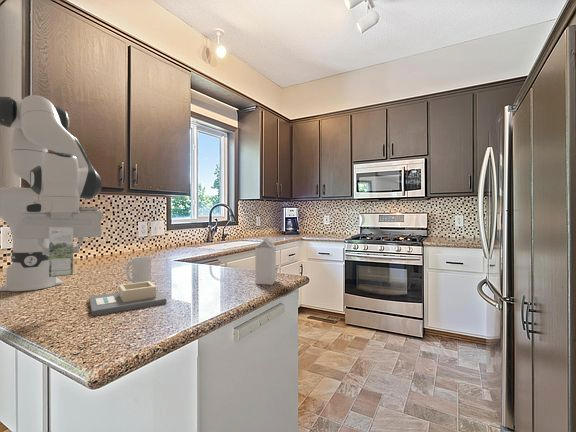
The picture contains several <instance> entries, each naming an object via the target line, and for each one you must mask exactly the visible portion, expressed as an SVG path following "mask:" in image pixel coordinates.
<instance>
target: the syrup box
mask: <svg viewBox="0 0 576 432" xmlns="http://www.w3.org/2000/svg"><path fill="white" fill-rule="evenodd" d="M73 247H74V238H73V227H49V277H57V278H59V277H66V276H67V277H68V276H69V277H70V276H73V275H74V253H73Z"/></svg>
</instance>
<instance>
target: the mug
mask: <svg viewBox="0 0 576 432" xmlns="http://www.w3.org/2000/svg"><path fill="white" fill-rule="evenodd" d="M130 266H131V273H130ZM125 272H126V273H125V274H126V277H127V280H128V282H131V283H138V282H146V281H150V282H152V256H137V257H135V256H134V257H132V258H131V260H130V259H129V260H128V261H127V264H126V266H125Z"/></svg>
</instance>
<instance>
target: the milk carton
mask: <svg viewBox="0 0 576 432" xmlns="http://www.w3.org/2000/svg"><path fill="white" fill-rule="evenodd" d="M262 240H263V241H261V243H259V244H258V245H257V246H256V247H255V250H254V252H255V253H254V254H255V257H254V258H255V261H254V262H255V269H254V271H255V272H254V273H255V283H254V284H255V285H267V286H268V285H271V286H273V284H274V283H275V282H276V279H277V276H276V275H277V274H276V273H277V271H276V269H277V266H276V265H277V263H276V262H277V261H276V260H277V258H276V257H277V256H276V255H277V254H276V253H277V250H276V248H277V247H276V245H275V244H274V241H272V240H269V237H268V236H267V237H264V238H263V239H262Z"/></svg>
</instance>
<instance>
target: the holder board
mask: <svg viewBox="0 0 576 432" xmlns="http://www.w3.org/2000/svg"><path fill="white" fill-rule="evenodd" d="M88 302H89V308H90V311H91V316H92V317H95V316H100V315H101V316H102V315H107V314H113V313H119V312H125V311H130V310H135V309H136V310H137V309H142V308H148V307H153V306H158V305H159V306H160V305H166V304H167V298H166V297H165V296H164V295H163V294H162V293H160V292H159V291H158V290H157V286H156V285H155V284H154V283H153V282H152V281H151V282H150V281H146V282H138V283H132V282H131V283H130V282H129V283H124V284H118V291H117V292H112V293H105V294H98V295H96V294H95V295H90V296H88Z"/></svg>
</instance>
